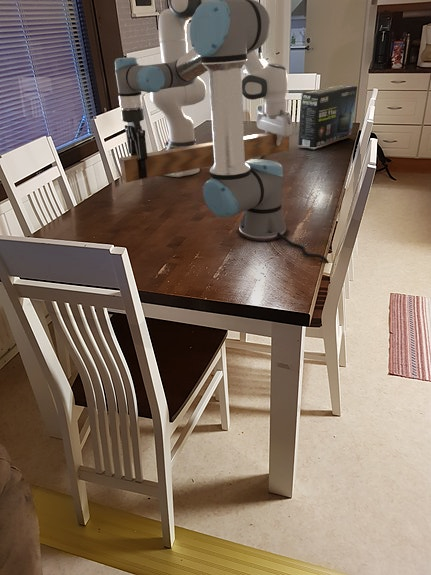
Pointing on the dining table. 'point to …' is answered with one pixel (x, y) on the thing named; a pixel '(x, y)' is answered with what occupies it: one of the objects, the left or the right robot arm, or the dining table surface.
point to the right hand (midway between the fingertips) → (140, 175)
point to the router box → (326, 115)
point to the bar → (196, 156)
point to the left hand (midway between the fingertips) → (273, 143)
